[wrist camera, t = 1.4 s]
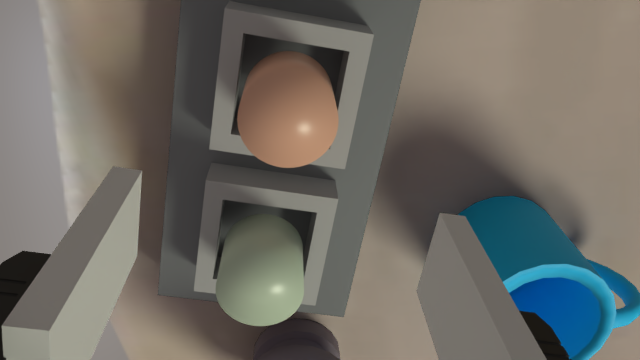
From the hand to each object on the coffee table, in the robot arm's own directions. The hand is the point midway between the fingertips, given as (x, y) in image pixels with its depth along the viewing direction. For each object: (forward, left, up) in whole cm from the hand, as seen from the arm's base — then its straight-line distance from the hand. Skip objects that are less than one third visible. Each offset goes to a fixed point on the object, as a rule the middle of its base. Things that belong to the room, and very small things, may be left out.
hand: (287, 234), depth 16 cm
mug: (+10, +18, -20) cm, 28 cm away
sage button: (+9, 0, -14) cm, 16 cm away
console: (0, 0, -19) cm, 19 cm away
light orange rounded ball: (0, 0, -14) cm, 14 cm away
